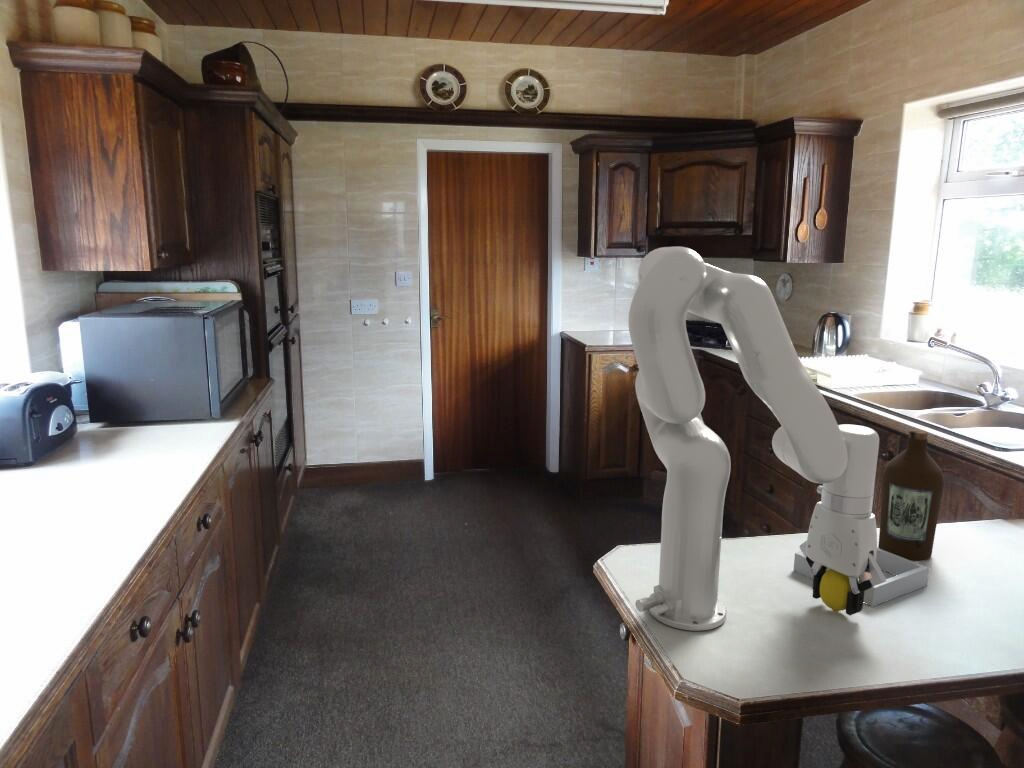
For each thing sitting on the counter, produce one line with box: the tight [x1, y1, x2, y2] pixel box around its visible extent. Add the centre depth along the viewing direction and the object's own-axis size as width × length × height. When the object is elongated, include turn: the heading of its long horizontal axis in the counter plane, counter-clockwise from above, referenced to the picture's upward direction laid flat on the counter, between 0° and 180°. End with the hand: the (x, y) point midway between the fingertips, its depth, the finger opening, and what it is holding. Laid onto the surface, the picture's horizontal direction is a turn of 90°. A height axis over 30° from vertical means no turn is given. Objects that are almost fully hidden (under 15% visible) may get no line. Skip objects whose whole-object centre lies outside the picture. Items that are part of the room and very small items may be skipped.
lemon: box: [820, 569, 851, 613], centre depth 117 cm, size 6×6×8 cm
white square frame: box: [793, 547, 930, 607], centre depth 130 cm, size 16×16×4 cm
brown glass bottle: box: [878, 429, 945, 562], centre depth 140 cm, size 11×11×25 cm
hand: (836, 603), depth 117 cm, fingers closed on lemon, 5 cm apart
